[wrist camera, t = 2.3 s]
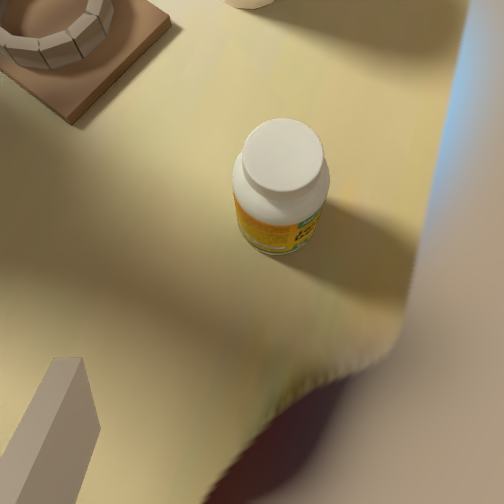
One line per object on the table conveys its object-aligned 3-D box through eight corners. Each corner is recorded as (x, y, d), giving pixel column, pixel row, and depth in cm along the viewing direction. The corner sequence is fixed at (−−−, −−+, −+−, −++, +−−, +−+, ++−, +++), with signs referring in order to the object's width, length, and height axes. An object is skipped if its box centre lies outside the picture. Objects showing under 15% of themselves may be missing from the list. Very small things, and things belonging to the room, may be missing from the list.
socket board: (-58, 25, 37) (-85, -5, 34) (43, -63, 39) (26, -98, 37) (71, 125, 35) (54, 101, 32) (171, 25, 37) (164, -6, 34)
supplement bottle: (255, 171, 34) (253, 89, 24) (327, 199, 33) (354, 125, 24) (224, 239, 32) (210, 180, 23) (298, 269, 32) (315, 220, 22)
